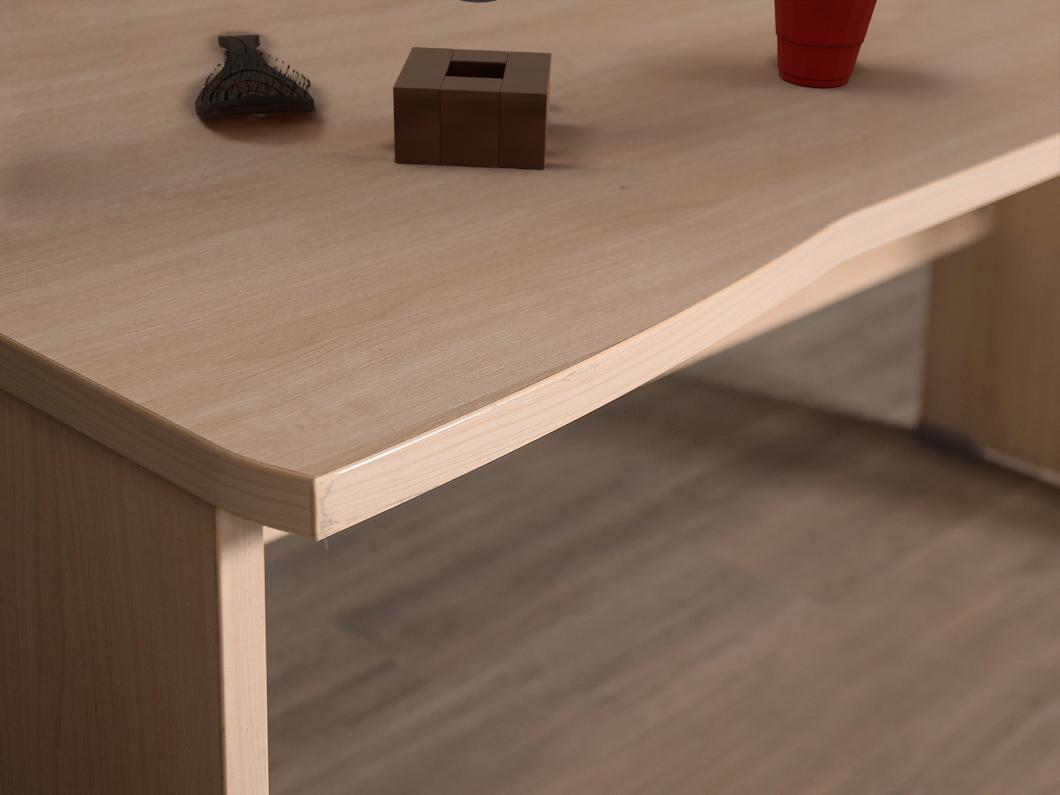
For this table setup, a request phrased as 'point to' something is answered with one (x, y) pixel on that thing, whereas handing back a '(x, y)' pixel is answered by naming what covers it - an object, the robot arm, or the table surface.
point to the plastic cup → (820, 39)
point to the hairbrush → (250, 84)
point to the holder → (472, 108)
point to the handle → (478, 1)
